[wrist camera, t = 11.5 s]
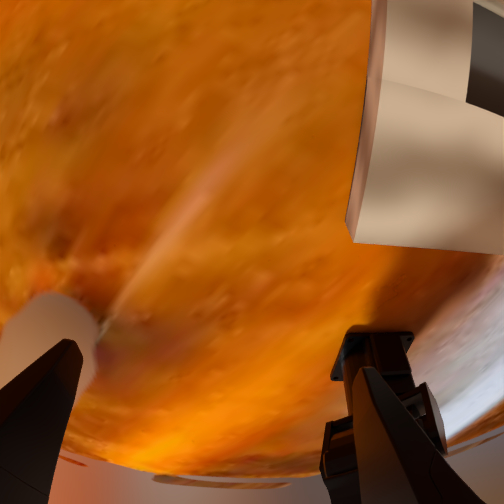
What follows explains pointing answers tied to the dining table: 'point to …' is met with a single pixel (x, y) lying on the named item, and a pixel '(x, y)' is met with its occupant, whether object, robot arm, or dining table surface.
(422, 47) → the trap board
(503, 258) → the dining table surface
